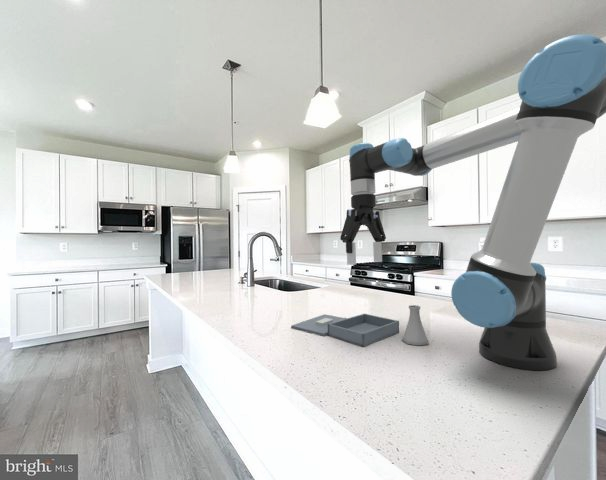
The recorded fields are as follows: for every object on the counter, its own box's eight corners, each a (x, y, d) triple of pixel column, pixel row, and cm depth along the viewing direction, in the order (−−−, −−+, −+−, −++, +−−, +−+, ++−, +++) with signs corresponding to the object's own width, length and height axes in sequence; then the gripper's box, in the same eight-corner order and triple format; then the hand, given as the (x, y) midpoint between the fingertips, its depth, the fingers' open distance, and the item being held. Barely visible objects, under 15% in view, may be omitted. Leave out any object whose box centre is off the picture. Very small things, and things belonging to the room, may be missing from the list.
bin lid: (355, 322, 103) (355, 317, 103) (324, 336, 89) (324, 331, 89) (324, 316, 112) (324, 312, 112) (291, 328, 98) (291, 323, 98)
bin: (399, 332, 91) (399, 321, 91) (363, 347, 79) (362, 334, 79) (364, 323, 101) (364, 313, 101) (327, 335, 89) (327, 324, 89)
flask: (424, 337, 86) (423, 303, 86) (432, 346, 79) (432, 309, 79) (399, 337, 87) (398, 303, 87) (405, 346, 80) (404, 309, 80)
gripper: (375, 199, 103) (378, 260, 103) (326, 193, 86) (329, 265, 86) (395, 196, 97) (397, 261, 97) (346, 188, 81) (349, 266, 80)
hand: (365, 263), depth 91 cm, fingers open, 13 cm apart
